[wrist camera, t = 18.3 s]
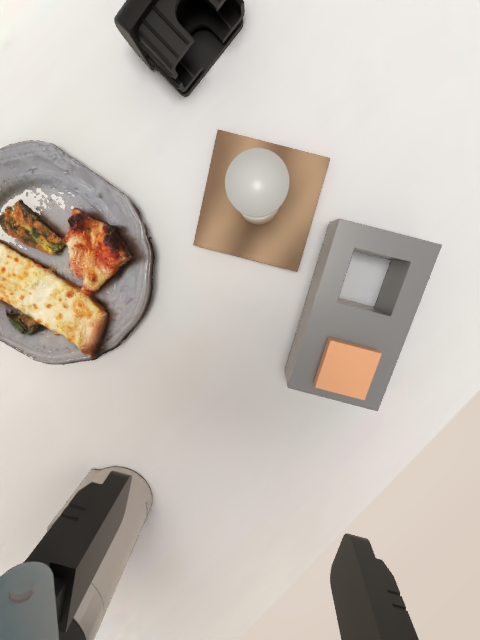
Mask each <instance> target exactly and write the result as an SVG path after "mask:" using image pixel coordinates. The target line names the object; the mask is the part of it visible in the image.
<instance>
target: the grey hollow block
mask: <svg viewBox="0 0 480 640" xmlns="http://www.w3.org/2000/svg"><path fill="white" fill-rule="evenodd" d="M441 246H442V245H441V244H437V243H433V242H429V241H425V240H421V239H417V238H413V237H409V236H405V235H402V234H398V233H394V232H390V231H386V230H382V229H378V228H374V227H370V226H366V225H362V224H359V223H355V222H351V221H347V220H343V219H338V220H335V221H332V222H329V225H328V229H327V232H326V235H325V239H324V242H323V245H322V249H321V252H320V255H319V258H318V262H317V265H316V268H315V272H314V275H313V278H312V282H311V285H310V288H309V292H308V295H307V298H306V301H305V305H304V308H303V311H302V315H301V318H300V321H299V325H298V328H297V331H296V335H295V338H294V341H293V344H292V348H291V351H290V354H289V358H288V361H287V364H286V368H285V375H286V381H287V387H288V388H291V389H295V390H299V391H302V392H306V393H310V394H314V395H318V396H322V397H325V398H329V399H333V400H337V401H341V402H344V403H348V404H352V405H356V406H360V407H363V408H367V409H371V410H375V411H378V409H379V406H380V404H381V401H382V399H383V396H384V393H385V391H386V388H387V386H388V383H389V381H390V378H391V375H392V373H393V370H394V368H395V365H396V362H397V360H398V357H399V355H400V352H401V350H402V347H403V344H404V342H405V339H406V337H407V334H408V332H409V329H410V326H411V324H412V321H413V319H414V316H415V313H416V311H417V308H418V306H419V303H420V301H421V298H422V295H423V293H424V290H425V288H426V285H427V282H428V280H429V277H430V275H431V272H432V270H433V267H434V264H435V262H436V259H437V257H438V254H439V251H440V249H441ZM354 250H355V251H359V252H363V253H367V254H371V255H375V256H378V257H382V258H386V259H390V260H391V262H390V265H389V267H388V270H387V273H386V276H385V279H384V282H383V284H382V287H381V290H380V293H379V296H378V298H377V301H376V304H375V307H370V306H366V305H363V304H359V303H355V302H351V301H347V300H343V299H339V298H338V297H339V294H340V291H341V288H342V285H343V282H344V279H345V276H346V273H347V270H348V267H349V264H350V261H351V258H352V254H353V251H354ZM328 337H330V338H334V339H338V340H341V341H345V342H349V343H353V344H357V345H361V346H364V347H368V348H372V349H376V350H378V351H379V352H381V353H382V355H381V357H380V360H379V363H378V365H377V368H376V371H375V373H374V376H373V379H372V381H371V384H370V387H369V390H368V392H367V395H366V398H365V400H361V399H357V398H354V397H350V396H346V395H342V394H338V393H334V392H331V391H327V390H323V389H319V388H315V386H314V383H313V382H314V379H315V376H316V373H317V370H318V367H319V364H320V361H321V358H322V355H323V352H324V349H325V346H326V343H327V340H328Z"/></svg>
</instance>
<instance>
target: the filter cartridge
mask: <svg viewBox="0 0 480 640" xmlns="http://www.w3.org/2000/svg"><path fill="white" fill-rule="evenodd" d="M225 189H226V193H227V196H228V199H229V200H230V202H231V204H232V205H233V206H234V207H235V209H236V210H238V211H239V212H240V213H241V215H242V216H243V217H244V219H245V220H247V221H248V222H250V223H252V224H256V225H261V224H265V223H268V222H269V221H271V220H272V219H273V218H274V217H275V216H276V214H277V212H278V210H279V207H280V206H281V205H282V203H283V202H284V200H285V198H286V196H287V193H288V189H289V173H288V170H287V167H286V165H285V163H284V162H283V160H282V159H281V158H280V157H279V156H278V155H277V154H275V153H274V152H272V151H270V150H267V149H264V148H252V149H248V150H246V151H244V152H242V153H240V154H239V155H238V156H236V157H235V158H234V160H233V161H232V162H231V164H230V165H229V167H228V170H227V173H226V177H225Z"/></svg>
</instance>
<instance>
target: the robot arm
mask: <svg viewBox="0 0 480 640" xmlns="http://www.w3.org/2000/svg"><path fill="white" fill-rule="evenodd" d="M151 505H152V494H151V491H150V488H149V486H148V484H147V483H146V481H145V480H144V479H143V478H142V477H141V476H140V475H138V474H137V473H135V472H133V471H131V470H129V469H126V468H122V467H110V468H106V469H103V470H94V469H92V470H91V471H90V472H89V474H88V475H87V476H86V477H85V479H84V480H83V481H82V483H81V484H80V485H79V487H78V488H77V489H76V490H75V492H74V493H73V494H72V496H71V497H70V498H69V500H68V501H67V502H66V504H65V505H64V506H63V507H62V509H61V510H60V511H59V513H58V514H57V515H56V517H55V518H54V519H53V520H52V522H51V523H50V525H49V526H48V529H47V533H46V534H45V536H44V537H43V538H42V540H41V541H40V542H39V544H38V545H37V546H36V548H35V549H34V550H33V552H32V553H31V554H30V556H29V557H28V558H27V559H26V560H25V561H24V562H23V563H22V564H19V565H17V566H15V567H13V568H11V569H10V570H8V571H7V572H6V573H4V574H3V575H2V576H1V577H0V640H94V638H95V636H96V634H97V631H98V629H99V627H100V624H101V622H102V619H103V617H104V615H105V613H106V610H107V608H108V606H109V603H110V601H111V599H112V596H113V594H114V592H115V589H116V587H117V585H118V582H119V580H120V578H121V575H122V573H123V571H124V568H125V566H126V564H127V561H128V559H129V557H130V554H131V552H132V550H133V547H134V545H135V543H136V540H137V538H138V536H139V533H140V531H141V529H142V526H143V524H144V522H145V520H146V518H147V515H148V512H149V510H150V507H151ZM330 583H331V589H332V594H333V600H334V604H335V609H336V614H337V620H338V624H339V629H340V634H341V640H419V639H418V637H417V634H416V632H415V629H414V627H413V624H412V622H411V619H410V617H409V614H408V611H406V607H405V604H404V601H403V599H402V597H401V596H400V591H399V589H398V586H397V584H396V581H395V579H394V576H393V575H392V573H391V572H390V571H389V569H388V568H387V566H386V565H385V564H384V562H383V561H382V560H380V559H376V558H375V555H374V553H373V550H372V547H371V544H370V542H369V540H368V539H366V538H361V537H358V536H354V535H351V534H345V535H344V537H343V539H342V541H341V544H340V547H339V549H338V551H337V554H336V556H335V559H334V561H333V564H332V567H331V574H330Z"/></svg>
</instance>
